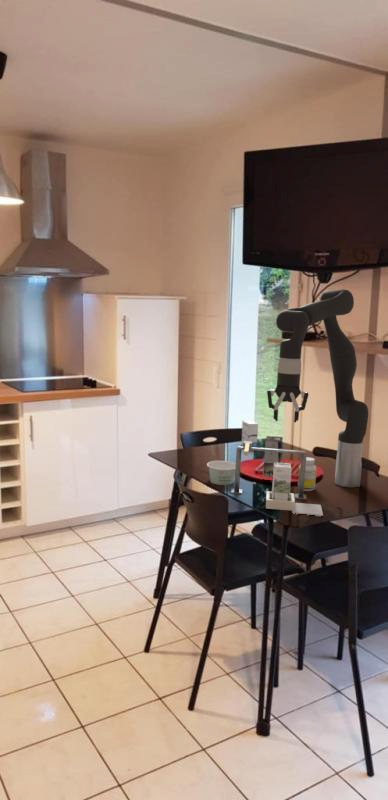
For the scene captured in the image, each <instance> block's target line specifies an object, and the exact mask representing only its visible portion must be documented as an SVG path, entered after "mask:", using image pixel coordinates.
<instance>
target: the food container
mask: <svg viewBox="0 0 388 800" xmlns="http://www.w3.org/2000/svg"><path fill="white" fill-rule="evenodd" d="M206 466H207V468H208V477H209V482H210V483H211V484H213V485H214V484H215V485H217V486H218V485H220V486H227V485H228V486H229V485H232V484H234V483H235V469H236V462H233V461H228V460H211V461H209V462H207V463H206Z"/></svg>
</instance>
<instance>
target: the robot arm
mask: <svg viewBox="0 0 388 800" xmlns="http://www.w3.org/2000/svg"><path fill="white" fill-rule="evenodd" d="M354 299H355V298H354V296H353V294H352V292H351V291H350V290H348V289H333V290H332V289H331V290H327V291H323V292H322V293H321V294H320V297H319V301H314V302H311V303H307V304H304V305H303V306H300V307H293V308H288V309H287V308H286V309H284V310H281V312H280V313H278V314H277V316H276V320H275V323H276V327H277V328H278V330H279V331H281V332H282V333H283V332H284V333H293V334H292V336H291V338H288V339H283V340H282V341H280V345H279V359H278V364H277V379H276V387H275V389H267V390H266V391H267V392H266V395H267V402H268V408H269V409H273V420H275V422H278V420H279V419H278V418H279V407H280V405H281V404H282V403H285V402H286V403H287V402H288V403H292V404H293V406H294V413H293V414H294V415H293V417H294V418H293V422H294V423H297V422H298V421H299V418H300V417H299V416H300V412H301V411H305V409H306V407H307V402H308V398H309V392H308V391H302V390H301V389H300V387H301V373H302V360H301V359H302V347H303V344H304V340H305V337H306V335H307V332H308V329H309V327H310V326H312V325H315V324H317V323H319V322H321V321H323V324H324V328H325V332H326V338H327V342H328V343H327V344H328V350H329V357H330V358H329V359H330V364H331V370H332V375H333V383H334V390H335V409H336V413H337V416H338V418H339V420H341V421H343V422H345V423H346V424H345V430H344V431H343V430H342V431H340V432H339V433H338V437H337V451H336V458H335V459H336V461H335V472H334V473H335V474H334V484H335V485H337V486H340V487H344V488H360V487H361V479H362V467H363V466H362V465H363V462H362V454H363V444H364V438H365V436H366V434H367V428H368V421H369V408H368V405H367V404H366V403H365V402H363V401H361V400H358V399H355V395H354V390H353V380H354V377H355V375H356V371H357V366H358V365H357V364H358V363H357V356H356V350H355V347H354V345H353V343H352V342H351V340H350V339H349V338H348V337H347V335H346V334H345V333H344V332H343V330H342V329H341V327H340V325H339V322H338V319H337V318H338V317H337V316H346V315H347V314H348V315H349V314H350V313H351V312H352V310H353V308H354V306H355V304H354V303H355V300H354ZM274 394H275V395H276V396H277V397H278V398H277V400H276V402H275V404H273V398H272V397H273V396H274ZM299 396H301V398H302V401H301V404H300V405H299V404H298V402H297V398H298V397H299Z"/></svg>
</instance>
